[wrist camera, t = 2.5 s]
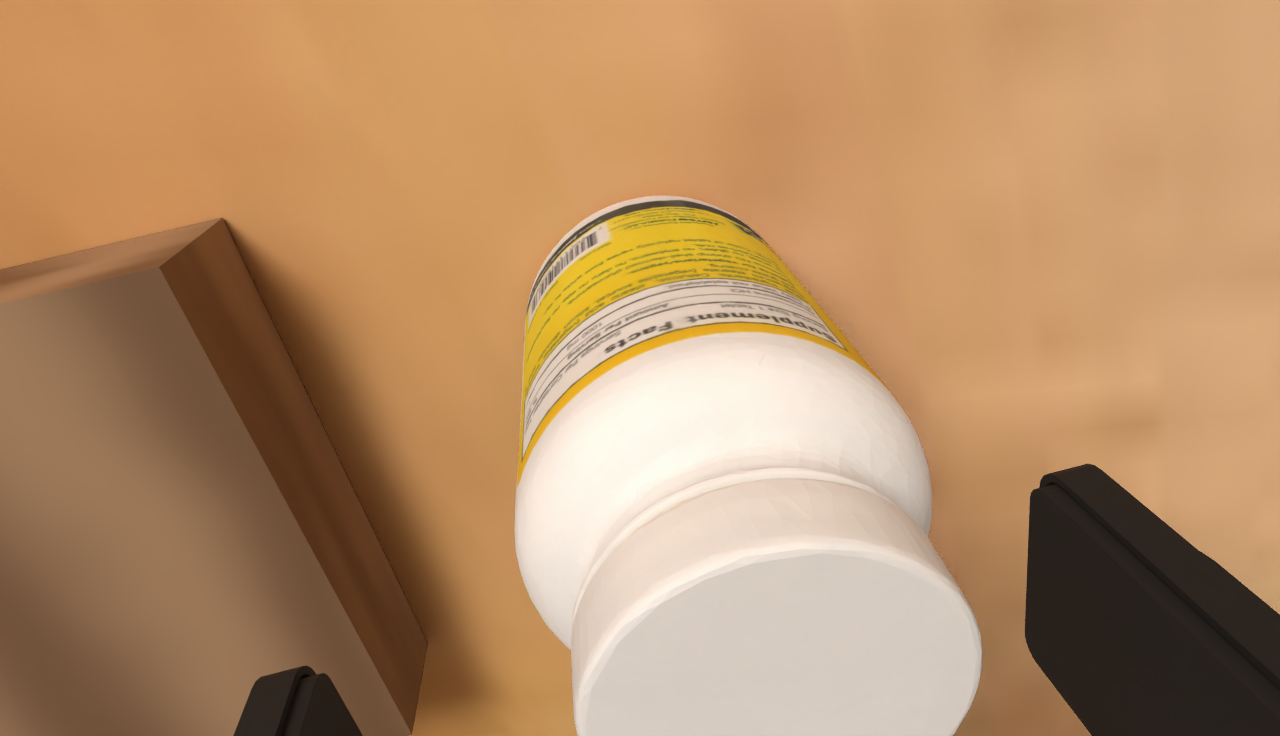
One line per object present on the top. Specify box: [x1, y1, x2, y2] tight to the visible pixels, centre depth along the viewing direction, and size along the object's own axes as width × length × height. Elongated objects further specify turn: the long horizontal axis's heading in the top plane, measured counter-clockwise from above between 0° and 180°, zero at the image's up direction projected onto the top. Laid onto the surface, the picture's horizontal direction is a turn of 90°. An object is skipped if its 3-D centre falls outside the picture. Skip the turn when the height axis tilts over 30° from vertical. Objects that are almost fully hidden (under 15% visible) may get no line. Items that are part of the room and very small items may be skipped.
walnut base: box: [0, 218, 428, 736], centre depth 18 cm, size 13×13×3 cm
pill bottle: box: [515, 196, 983, 736], centre depth 13 cm, size 6×6×11 cm
